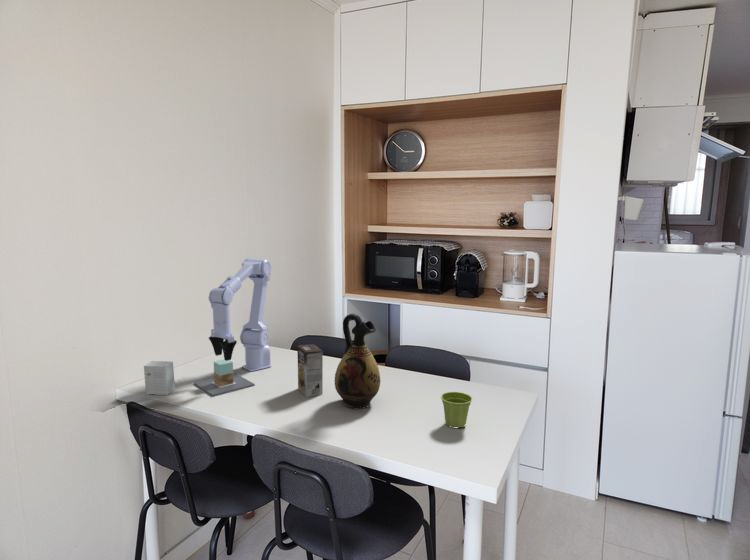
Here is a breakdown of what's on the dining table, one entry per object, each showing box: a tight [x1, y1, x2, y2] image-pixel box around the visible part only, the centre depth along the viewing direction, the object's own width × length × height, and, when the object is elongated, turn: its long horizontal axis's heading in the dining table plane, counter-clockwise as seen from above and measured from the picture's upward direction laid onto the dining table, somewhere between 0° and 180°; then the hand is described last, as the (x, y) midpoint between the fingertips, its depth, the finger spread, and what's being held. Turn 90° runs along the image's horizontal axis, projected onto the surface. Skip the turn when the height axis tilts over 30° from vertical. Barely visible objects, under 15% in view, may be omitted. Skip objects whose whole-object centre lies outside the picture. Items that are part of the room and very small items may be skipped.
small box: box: [143, 360, 176, 396], centre depth 174 cm, size 8×6×10 cm
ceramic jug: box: [334, 313, 381, 409], centre depth 165 cm, size 17×15×30 cm
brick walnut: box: [213, 371, 234, 387], centre depth 182 cm, size 5×5×4 cm
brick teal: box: [213, 358, 234, 376], centre depth 181 cm, size 5×5×4 cm
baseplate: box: [193, 372, 256, 397], centre depth 182 cm, size 16×16×1 cm
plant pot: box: [440, 391, 473, 428], centre depth 150 cm, size 9×9×9 cm
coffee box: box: [296, 343, 324, 398], centre depth 175 cm, size 9×6×16 cm
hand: (223, 357), depth 180 cm, fingers open, 7 cm apart
